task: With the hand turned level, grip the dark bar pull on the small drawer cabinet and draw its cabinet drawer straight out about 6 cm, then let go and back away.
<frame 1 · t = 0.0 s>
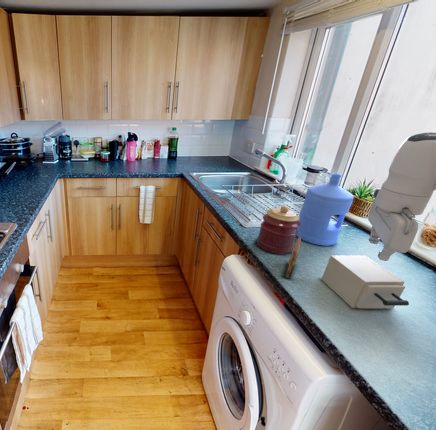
hand: (377, 250, 75), 20 cm above the worktop, tool pointing down, fingers open, 8 cm apart
cabinet drawer: (369, 288, 85), point 5 cm above the worktop, slide at 0.0 cm, touching small drawer cabinet
ammunition clip: (288, 271, 101), on the worktop
water jug: (314, 237, 124), on the worktop
small drawer cabinet: (353, 292, 91), on the worktop
kitchen canister: (273, 246, 116), on the worktop
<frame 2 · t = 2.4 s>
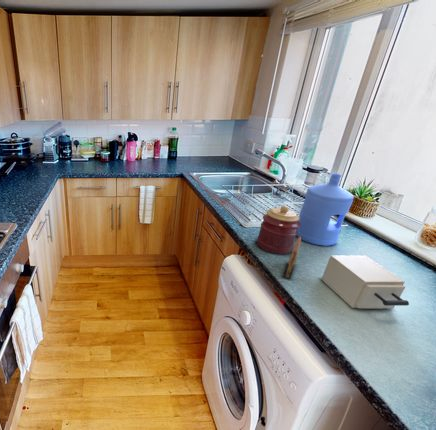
nothing on the worktop moved.
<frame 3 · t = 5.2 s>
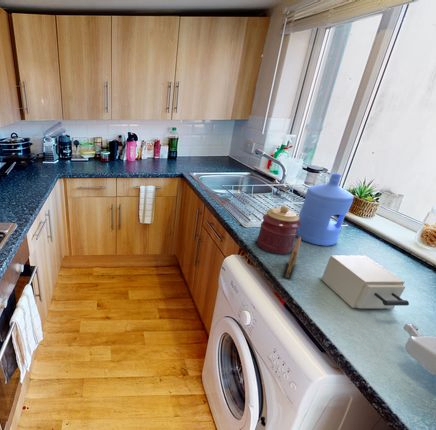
hand: (425, 325, 70), 6 cm above the worktop, tool horizontal, fingers open, 8 cm apart
nothing on the worktop moved.
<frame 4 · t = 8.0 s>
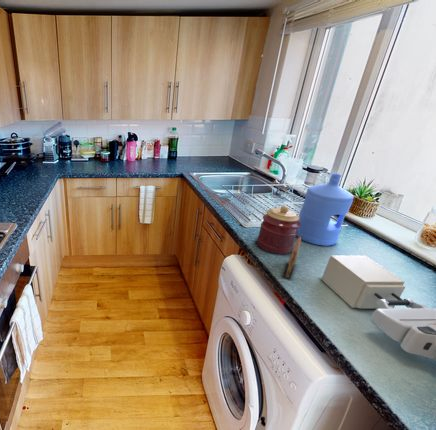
hand: (392, 300, 78), 6 cm above the worktop, tool horizontal, fingers closed on cabinet drawer, 6 cm apart
cabinet drawer: (369, 288, 85), point 5 cm above the worktop, slide at 0.0 cm, touching gripper
everything else where it was.
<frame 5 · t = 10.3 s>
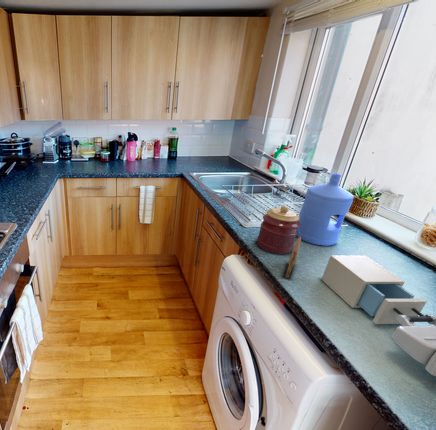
hand: (413, 316, 73), 6 cm above the worktop, tool horizontal, fingers closed on cabinet drawer, 6 cm apart
cabinet drawer: (387, 302, 80), point 5 cm above the worktop, slide at 5.9 cm, touching gripper
everything else where it was.
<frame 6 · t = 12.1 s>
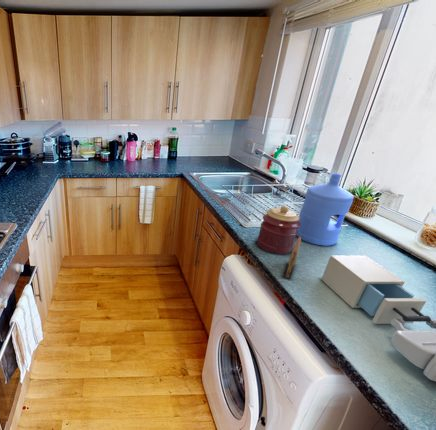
hand: (411, 320, 73), 5 cm above the worktop, tool horizontal, fingers open, 8 cm apart
cabinet drawer: (387, 302, 80), point 5 cm above the worktop, slide at 5.8 cm
everything else where it was.
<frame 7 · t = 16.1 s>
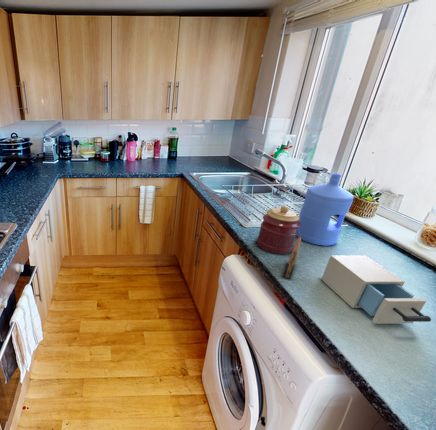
nothing on the worktop moved.
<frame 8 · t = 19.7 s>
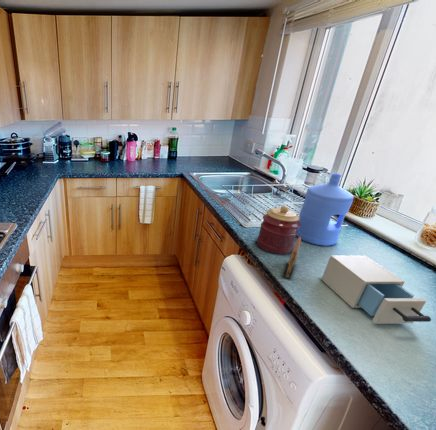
nothing on the worktop moved.
at the end: cabinet drawer slide at 5.8 cm; the gripper is holding nothing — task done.
